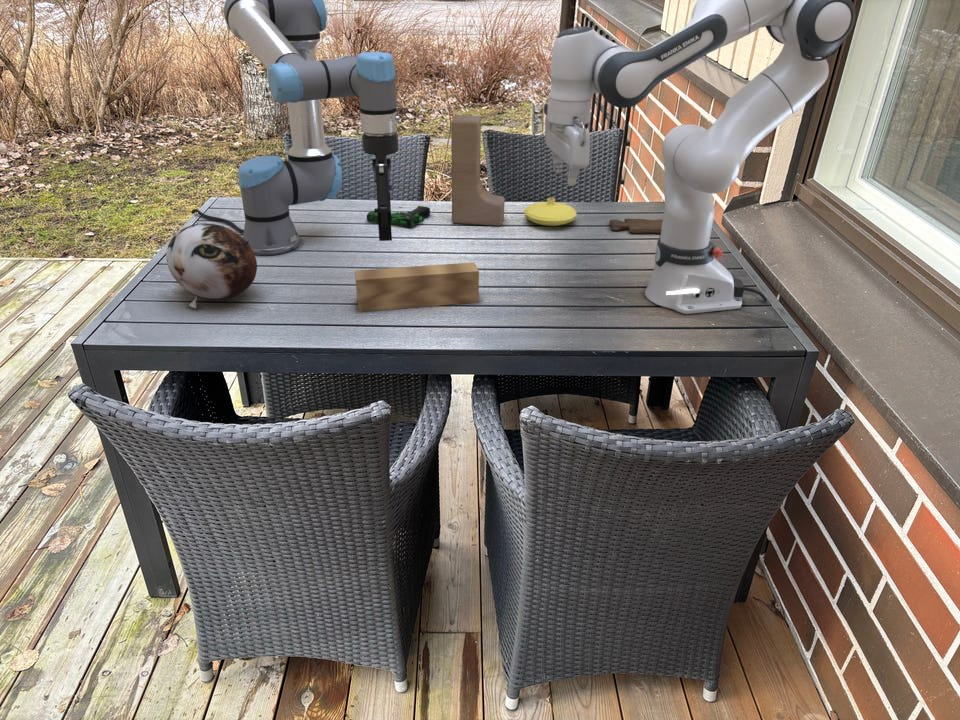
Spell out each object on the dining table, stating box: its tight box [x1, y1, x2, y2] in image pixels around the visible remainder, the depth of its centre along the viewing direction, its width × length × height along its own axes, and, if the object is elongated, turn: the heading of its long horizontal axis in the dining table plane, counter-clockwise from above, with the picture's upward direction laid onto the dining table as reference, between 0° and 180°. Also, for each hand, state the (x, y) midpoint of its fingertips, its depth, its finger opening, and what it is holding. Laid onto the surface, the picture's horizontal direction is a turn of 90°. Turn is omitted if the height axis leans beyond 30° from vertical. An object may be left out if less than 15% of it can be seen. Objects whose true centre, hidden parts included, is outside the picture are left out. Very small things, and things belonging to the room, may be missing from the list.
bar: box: [354, 261, 480, 313], centre depth 166 cm, size 28×5×8 cm, turn 102°
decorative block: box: [450, 114, 506, 227], centre depth 208 cm, size 8×15×30 cm, turn 82°
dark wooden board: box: [608, 218, 663, 234], centre depth 212 cm, size 26×2×10 cm
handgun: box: [366, 205, 431, 229], centre depth 216 cm, size 16×3×15 cm
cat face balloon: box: [165, 222, 258, 309], centre depth 165 cm, size 22×18×20 cm
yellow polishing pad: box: [523, 197, 578, 227], centre depth 214 cm, size 16×16×7 cm
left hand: (385, 229), depth 161 cm, fingers open, 13 cm apart
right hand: (564, 178), depth 156 cm, fingers open, 8 cm apart
